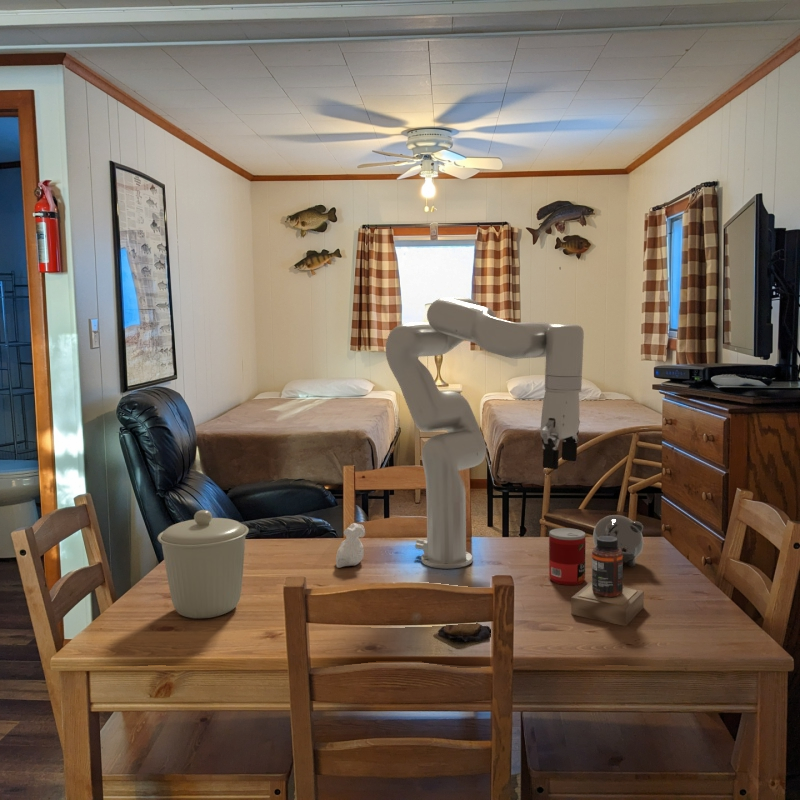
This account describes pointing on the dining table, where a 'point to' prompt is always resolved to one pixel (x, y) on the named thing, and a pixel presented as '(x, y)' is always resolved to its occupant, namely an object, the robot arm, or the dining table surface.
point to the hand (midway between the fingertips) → (559, 464)
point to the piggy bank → (622, 535)
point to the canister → (204, 564)
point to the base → (608, 605)
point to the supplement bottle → (607, 567)
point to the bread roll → (463, 634)
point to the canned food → (567, 556)
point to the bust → (351, 546)
